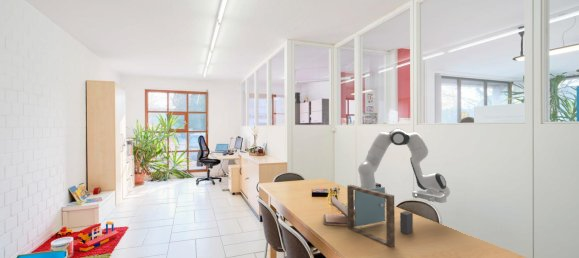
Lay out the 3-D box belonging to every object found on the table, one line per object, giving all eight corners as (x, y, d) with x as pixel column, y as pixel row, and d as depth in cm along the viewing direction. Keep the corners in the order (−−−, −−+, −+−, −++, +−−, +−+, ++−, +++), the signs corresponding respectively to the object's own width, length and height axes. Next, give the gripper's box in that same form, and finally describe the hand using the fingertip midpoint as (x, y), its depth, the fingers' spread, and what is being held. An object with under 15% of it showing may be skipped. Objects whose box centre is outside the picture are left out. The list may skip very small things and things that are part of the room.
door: (357, 227, 168) (357, 191, 167) (354, 226, 171) (354, 190, 170) (387, 221, 177) (386, 187, 177) (383, 220, 180) (383, 186, 180)
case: (355, 227, 174) (355, 202, 173) (323, 225, 177) (323, 201, 177) (352, 216, 194) (352, 194, 194) (323, 215, 197) (323, 194, 197)
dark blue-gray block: (400, 231, 164) (400, 212, 164) (406, 229, 167) (405, 210, 167) (407, 234, 160) (406, 214, 160) (412, 232, 164) (412, 212, 163)
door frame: (347, 228, 171) (347, 185, 171) (351, 227, 173) (350, 184, 172) (391, 247, 144) (390, 196, 143) (394, 245, 145) (394, 195, 145)
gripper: (418, 187, 189) (407, 190, 181) (448, 193, 172) (437, 196, 164) (418, 196, 189) (407, 199, 181) (448, 202, 172) (437, 206, 164)
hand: (421, 198), depth 173 cm, fingers open, 8 cm apart
